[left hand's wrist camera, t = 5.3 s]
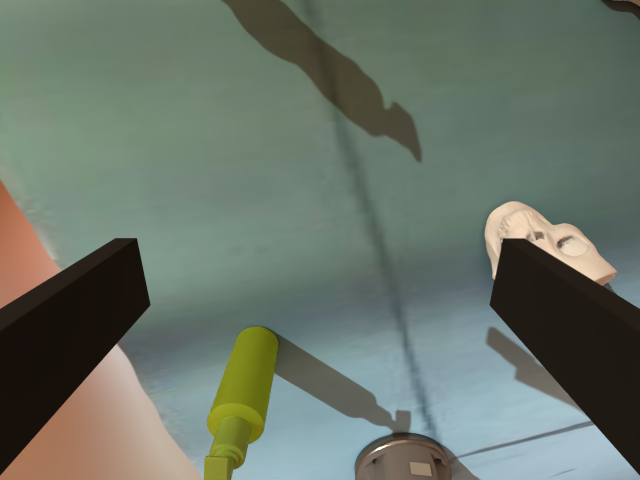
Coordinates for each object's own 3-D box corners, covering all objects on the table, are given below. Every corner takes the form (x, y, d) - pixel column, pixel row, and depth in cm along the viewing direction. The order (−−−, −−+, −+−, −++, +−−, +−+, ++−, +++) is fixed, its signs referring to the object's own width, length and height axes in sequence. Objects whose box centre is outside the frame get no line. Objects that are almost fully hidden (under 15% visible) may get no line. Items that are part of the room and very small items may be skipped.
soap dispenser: (279, 321, 46) (251, 465, 27) (278, 362, 48) (251, 520, 29) (235, 318, 46) (177, 461, 27) (236, 360, 48) (183, 517, 29)
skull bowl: (546, 169, 37) (646, 252, 29) (538, 233, 48) (610, 307, 40) (457, 216, 39) (529, 307, 31) (469, 268, 50) (524, 345, 42)
